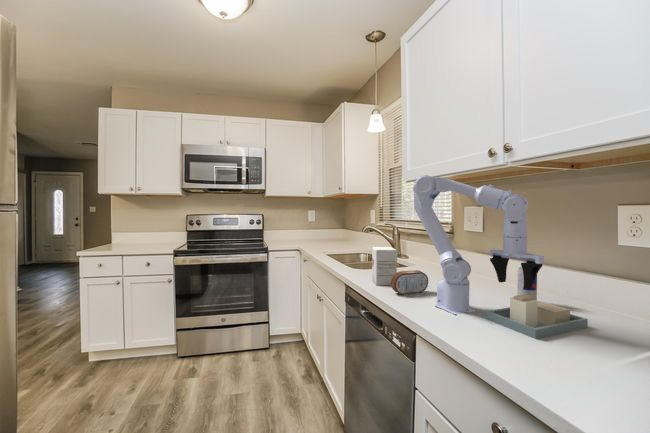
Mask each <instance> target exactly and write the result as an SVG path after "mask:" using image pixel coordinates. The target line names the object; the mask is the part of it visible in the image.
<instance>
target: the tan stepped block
mask: <svg viewBox="0 0 650 433" xmlns="http://www.w3.org/2000/svg"><path fill="white" fill-rule="evenodd" d="M537 301H538V300H537ZM570 314H571V309H569V308H567V307H563V306H558V305H557V304H556V305H555V304H552V303H548V302H545V301H541V300H539V301H538V308H537V321H539V322H542V323H544V324H547V325H553V324H557V323H562V322H567V321H570Z"/></svg>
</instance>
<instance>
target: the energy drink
mask: <svg viewBox="0 0 650 433" xmlns="http://www.w3.org/2000/svg"><path fill="white" fill-rule="evenodd" d="M517 269H518V270H517V285H516V286H517V287H516V288H517V289H516V290H517V291H516V293H517V295H516V296H518V295H529V296H533V297H534V300H536V301H538V300H537V296H538V295H537V294H538V274H537V275H536V277H535V279H534V282H533V285H532V288H530V289H525V288H524V275H523V270H522V266H520V267H518V268H517Z"/></svg>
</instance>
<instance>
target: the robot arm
mask: <svg viewBox="0 0 650 433" xmlns="http://www.w3.org/2000/svg"><path fill="white" fill-rule="evenodd" d="M412 191H413V209H414V211H415V212H416V214H417V216H418V218H419V220H420V221H421V224H422V225H423V228H424V230H425V231H426V233H427V235H428V237H429V238H430V240H431V242H432V244H433V246H434V248H435V250H436V251H437V253H438V255H439V265H440V266H441V268H442V276H443V279H440V280H439V281H438V284H437V285H436V286H437V287H436V303H435V304H434V306H435V307H437V308H439V309H441V310H443V311H446V312H448V313H450V314H452V315H455V316H458V315H459V314H466V313H471V312H476V310H475V309H473V308H471V307H470V280H469V278H468V276H470V274H471V272H472V267H471V264H470V263H469V262H468V261H467V260H465V259H464V257H462V254H461V253H460V252H459V251H457V249H455V247H454V245H453V243H452V241H451V239H450V237H449V236H448V234H447V232H446V231H445V228H444V227H443V224H442V223H441V221H440V220H439V218H438V215H437V214H436V212H435V211H434V209H433V204H434V202H435V199H437V197H439V195H440V194H441V193H447V192H453V193H455V194H460V195H463V196H467V197H470V198H474V201H475V202H476V204H478V205H482V206H484V207H488V208H490V209H494V210H497V211H503V212H504V214H503V215H504V217H503V219H504V220H503V225H502V226H503V231H502V232H503V234H502V236H503V238H502V239H503V242H502V243H503V244H502V245H503V246H502V249H495V248H493V249H489V257H490V258H489V261H490V263H491V264H492V267H493V268H494V270H495V274H496V277H497V281H498V282H499V283H505V282H506V280H507V268H508V264H509V261H510V260H516V261H521V263H520V267H522V270H523V275H524V288H525V289H530V288H532V285H533V282H534V279H535V277H536V275H537V276H538V273H539V271H540V270H541V268H542V267H543V264H544V263H545V255H539V254H534V253H529V252H528V224H529V223H528V220H527V219H528V214H527V212H526V211H527V210H528V208H529V202H528V200H527V198H526V197H525V196H523V195H521V194H519V193H518V194H517V193H516V194H515V193H514V194H512V193H513V191H512V190H507V191H506V190H503V189H499V188H496V187H495V185H492V184H488V185H485V184H483V185H482V186H480V187H475V186H472V185H470V184H466V183H463V182H460V181H457V180H453V179H450V178H447V177H440V176H430V175H427V174H423V175H420V176H419V177H417V178H416V179H415V181H414V185H413V187H412Z"/></svg>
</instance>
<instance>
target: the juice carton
mask: <svg viewBox="0 0 650 433" xmlns="http://www.w3.org/2000/svg"><path fill="white" fill-rule="evenodd" d="M509 299H510V300H509V307H510V319H511V320H514V321H517V322H519V323H522V324H525V325H527V326H530V327H533V328H535V327H537V308H538V300H537V301H536V300H534V297H533V296H529V295H518V296H517V295H513V297H510V298H509Z"/></svg>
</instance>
